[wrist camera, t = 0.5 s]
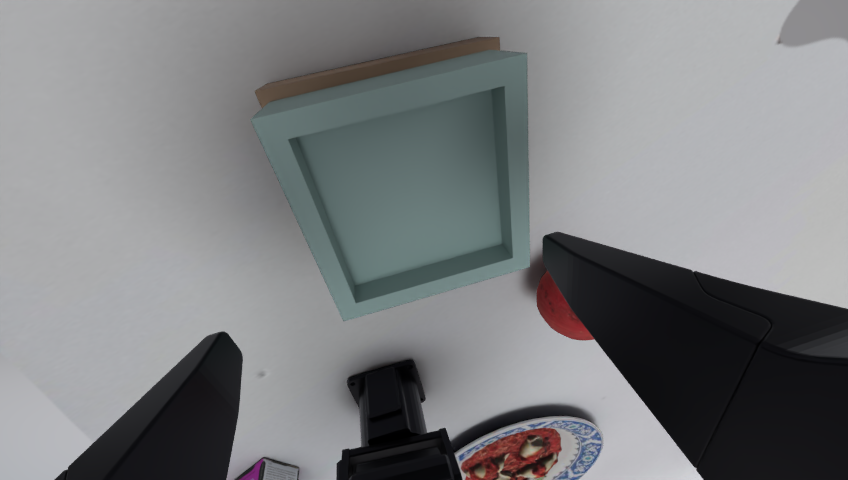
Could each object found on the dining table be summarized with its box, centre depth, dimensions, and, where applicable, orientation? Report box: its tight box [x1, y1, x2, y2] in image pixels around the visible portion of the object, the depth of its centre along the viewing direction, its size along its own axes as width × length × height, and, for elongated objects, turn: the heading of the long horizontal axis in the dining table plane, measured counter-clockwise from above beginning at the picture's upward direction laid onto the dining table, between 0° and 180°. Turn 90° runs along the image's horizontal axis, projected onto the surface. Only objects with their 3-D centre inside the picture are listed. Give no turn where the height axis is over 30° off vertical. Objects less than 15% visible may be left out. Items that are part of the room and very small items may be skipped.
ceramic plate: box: [454, 416, 603, 480], centre depth 46 cm, size 26×26×3 cm
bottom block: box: [255, 37, 500, 108], centre depth 21 cm, size 12×12×4 cm
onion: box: [537, 270, 594, 340], centre depth 26 cm, size 6×6×8 cm
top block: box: [250, 50, 530, 321], centre depth 18 cm, size 11×11×4 cm
